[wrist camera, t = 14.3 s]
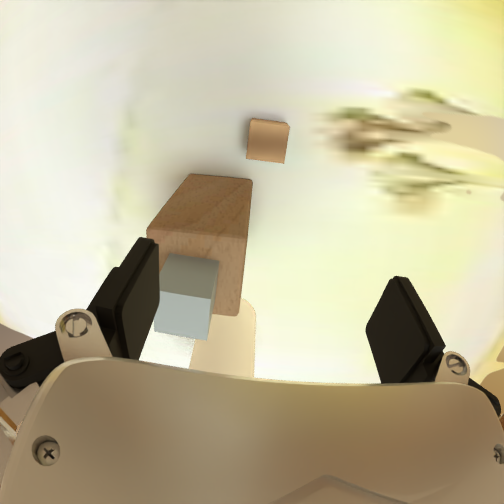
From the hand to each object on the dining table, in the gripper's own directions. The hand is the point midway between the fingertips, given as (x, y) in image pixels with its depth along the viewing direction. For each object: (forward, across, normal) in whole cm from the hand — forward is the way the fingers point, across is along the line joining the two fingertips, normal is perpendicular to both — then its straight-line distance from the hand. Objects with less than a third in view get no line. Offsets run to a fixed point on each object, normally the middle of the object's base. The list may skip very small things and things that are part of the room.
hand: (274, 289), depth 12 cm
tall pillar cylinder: (+35, +1, +35) cm, 49 cm away
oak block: (+36, 0, 0) cm, 36 cm away
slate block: (+15, +6, +12) cm, 20 cm away
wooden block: (+36, +5, +12) cm, 38 cm away
